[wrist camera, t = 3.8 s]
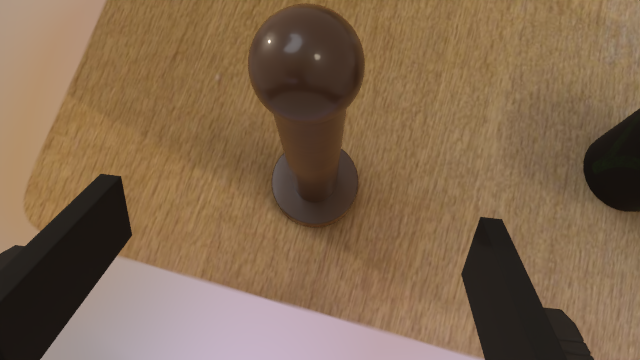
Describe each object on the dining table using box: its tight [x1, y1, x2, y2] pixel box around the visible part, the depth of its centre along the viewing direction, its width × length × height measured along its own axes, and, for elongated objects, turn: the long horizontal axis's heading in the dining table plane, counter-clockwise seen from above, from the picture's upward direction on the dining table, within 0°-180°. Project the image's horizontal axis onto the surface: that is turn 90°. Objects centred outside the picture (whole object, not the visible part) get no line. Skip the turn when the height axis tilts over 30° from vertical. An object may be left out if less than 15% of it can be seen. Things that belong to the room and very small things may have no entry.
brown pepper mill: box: [248, 4, 365, 227], centre depth 21 cm, size 6×6×18 cm
